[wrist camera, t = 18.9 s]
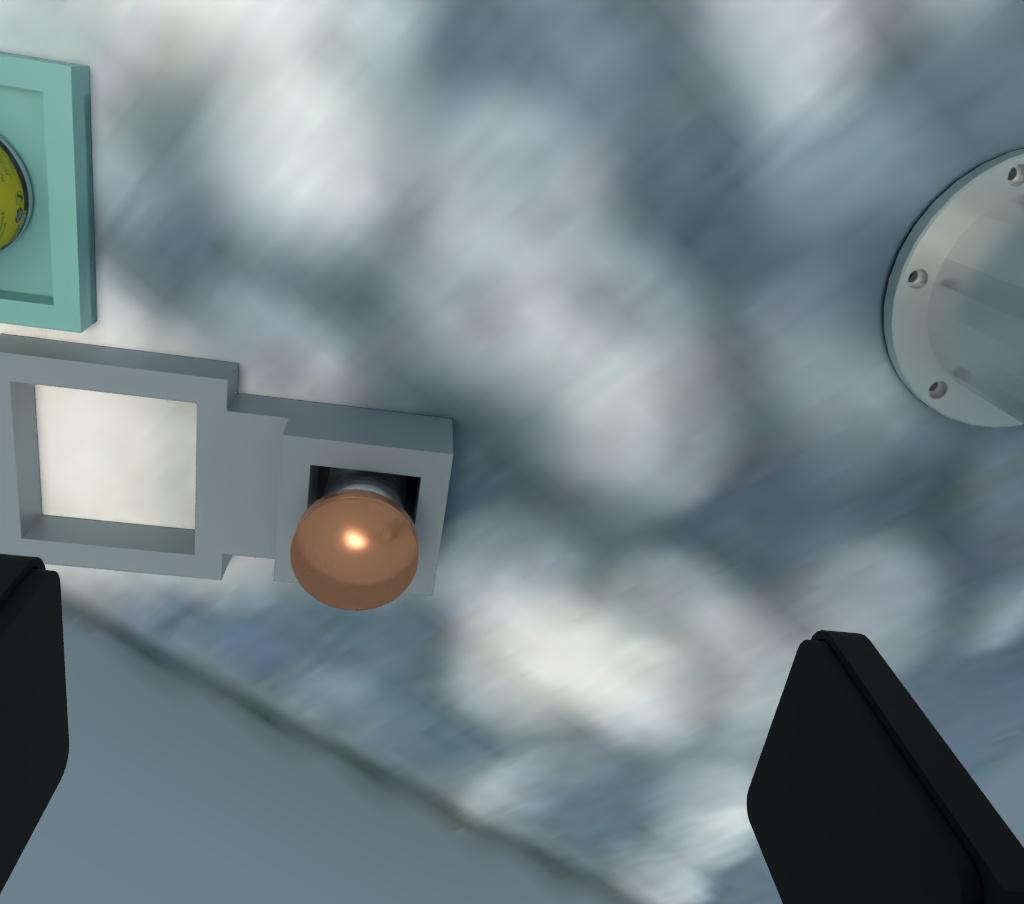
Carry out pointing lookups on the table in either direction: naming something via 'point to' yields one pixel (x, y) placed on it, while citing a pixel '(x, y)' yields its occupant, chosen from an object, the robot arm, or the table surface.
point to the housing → (209, 464)
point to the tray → (50, 195)
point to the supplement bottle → (13, 196)
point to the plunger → (356, 541)
